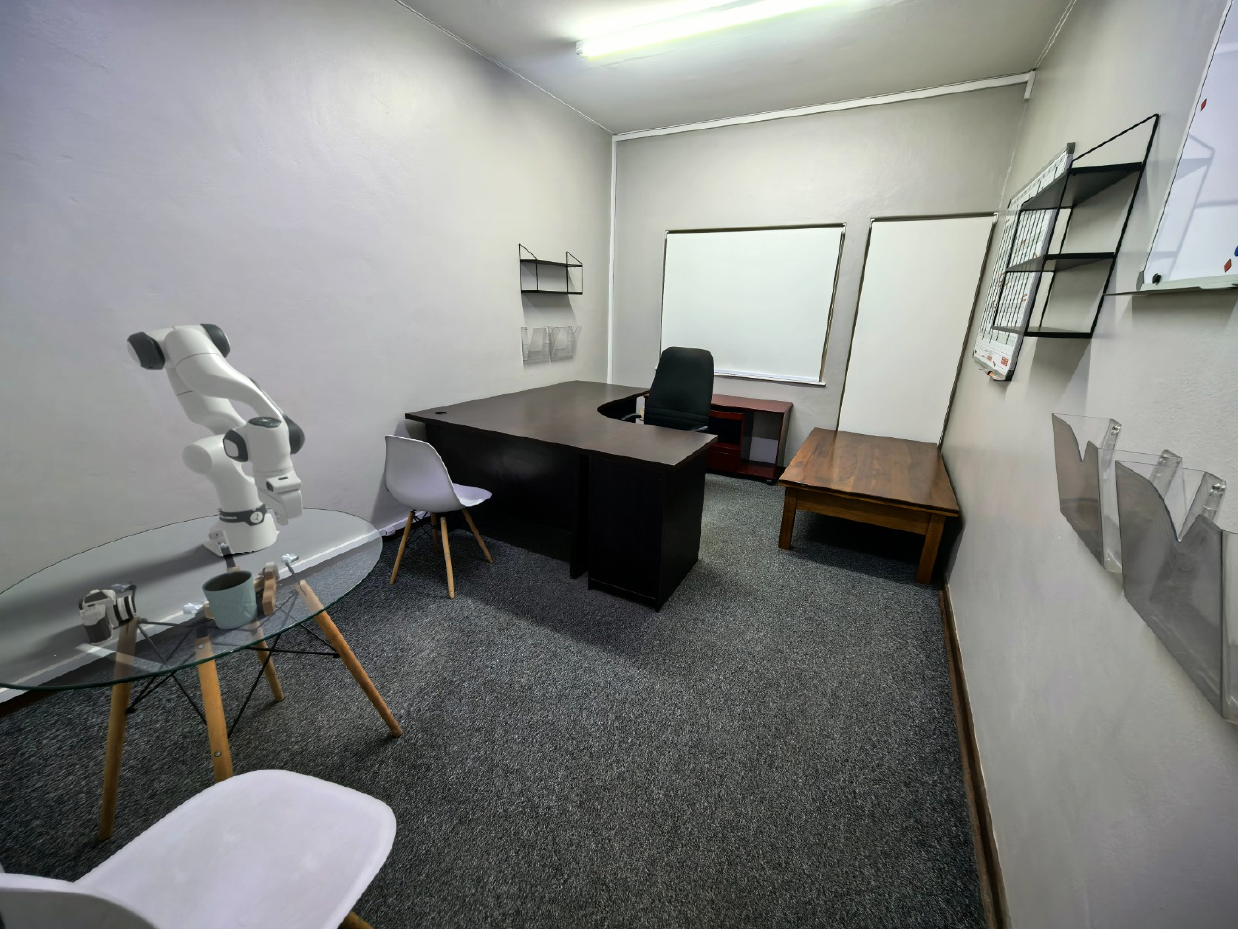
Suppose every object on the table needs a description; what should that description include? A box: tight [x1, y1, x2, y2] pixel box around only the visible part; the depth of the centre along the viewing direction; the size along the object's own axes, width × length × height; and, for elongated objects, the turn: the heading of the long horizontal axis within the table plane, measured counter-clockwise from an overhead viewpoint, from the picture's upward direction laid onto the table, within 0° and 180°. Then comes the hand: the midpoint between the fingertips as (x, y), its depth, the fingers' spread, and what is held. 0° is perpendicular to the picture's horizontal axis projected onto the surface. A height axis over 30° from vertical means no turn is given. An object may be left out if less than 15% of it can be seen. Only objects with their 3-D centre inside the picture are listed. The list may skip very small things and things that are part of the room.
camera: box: [77, 589, 137, 646], centre depth 115 cm, size 16×9×10 cm, turn 45°
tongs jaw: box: [261, 561, 277, 616], centre depth 130 cm, size 20×2×6 cm, turn 33°
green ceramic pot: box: [201, 569, 259, 630], centre depth 119 cm, size 10×10×12 cm
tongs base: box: [202, 564, 281, 620], centre depth 129 cm, size 20×4×6 cm, turn 166°
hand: (282, 523), depth 127 cm, fingers closed
